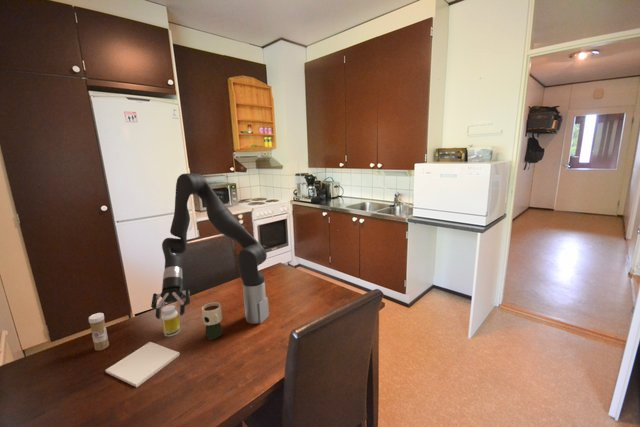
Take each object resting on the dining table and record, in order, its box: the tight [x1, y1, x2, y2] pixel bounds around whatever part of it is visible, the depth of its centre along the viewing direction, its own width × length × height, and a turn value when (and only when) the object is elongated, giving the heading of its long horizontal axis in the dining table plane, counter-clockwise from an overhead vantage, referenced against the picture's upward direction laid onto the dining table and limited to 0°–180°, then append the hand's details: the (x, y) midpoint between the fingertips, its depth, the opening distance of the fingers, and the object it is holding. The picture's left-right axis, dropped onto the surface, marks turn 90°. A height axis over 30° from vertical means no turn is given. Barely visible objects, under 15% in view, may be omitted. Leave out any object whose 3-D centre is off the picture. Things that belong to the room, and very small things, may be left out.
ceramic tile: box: [105, 341, 180, 388], centre depth 101 cm, size 16×16×1 cm
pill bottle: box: [160, 304, 181, 338], centre depth 117 cm, size 6×6×11 cm
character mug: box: [201, 301, 223, 341], centre depth 114 cm, size 11×7×13 cm, turn 44°
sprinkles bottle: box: [88, 312, 110, 351], centre depth 109 cm, size 5×5×14 cm
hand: (170, 316), depth 117 cm, fingers open, 8 cm apart
